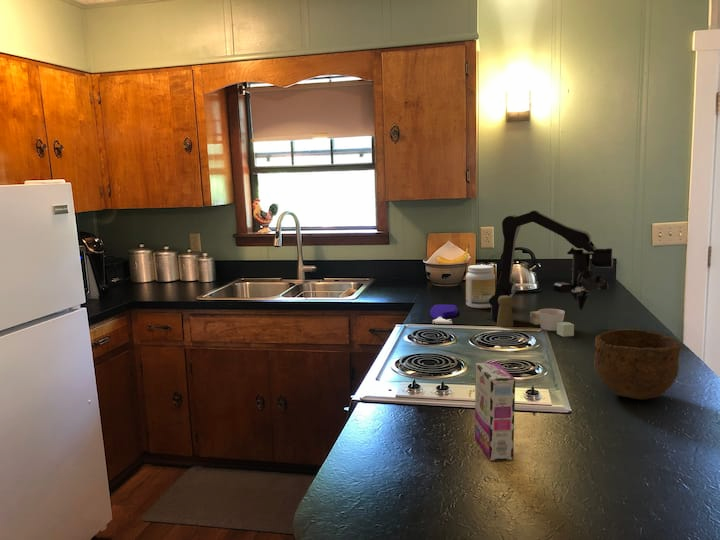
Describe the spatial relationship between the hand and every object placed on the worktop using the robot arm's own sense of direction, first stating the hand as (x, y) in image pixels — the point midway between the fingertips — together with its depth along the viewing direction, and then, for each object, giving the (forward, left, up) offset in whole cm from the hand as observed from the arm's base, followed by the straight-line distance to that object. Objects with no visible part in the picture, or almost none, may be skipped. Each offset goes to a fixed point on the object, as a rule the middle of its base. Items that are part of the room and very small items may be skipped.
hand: (580, 309), depth 213 cm
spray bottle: (-30, -41, -7) cm, 51 cm away
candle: (0, -11, -6) cm, 13 cm away
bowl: (+65, -28, -6) cm, 71 cm away
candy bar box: (+81, -73, -6) cm, 110 cm away
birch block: (-9, -11, -6) cm, 16 cm away
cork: (-10, -24, -6) cm, 27 cm away
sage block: (+9, -11, -6) cm, 16 cm away
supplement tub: (-44, -18, -6) cm, 48 cm away
